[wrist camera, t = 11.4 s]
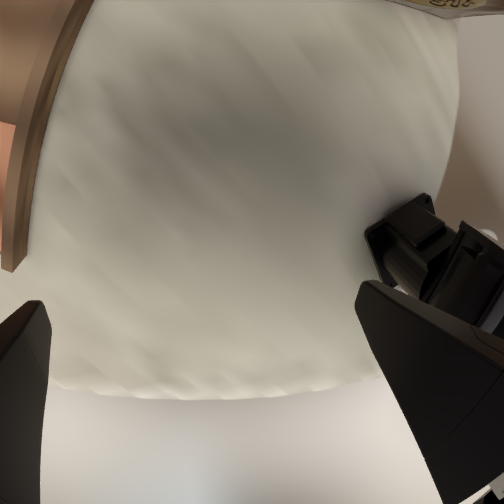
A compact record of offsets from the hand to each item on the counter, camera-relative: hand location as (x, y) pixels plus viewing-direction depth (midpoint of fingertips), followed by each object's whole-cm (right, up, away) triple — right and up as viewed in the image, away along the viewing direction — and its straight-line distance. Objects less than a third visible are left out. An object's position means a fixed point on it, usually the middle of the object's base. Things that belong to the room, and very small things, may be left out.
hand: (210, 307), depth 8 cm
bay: (-16, +12, +5) cm, 21 cm away
